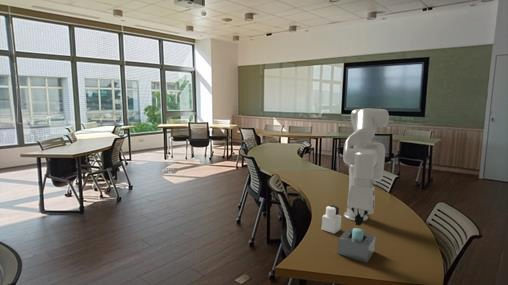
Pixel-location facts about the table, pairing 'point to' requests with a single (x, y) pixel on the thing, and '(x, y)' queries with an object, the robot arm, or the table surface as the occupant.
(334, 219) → the medicine bottle
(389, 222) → the table surface
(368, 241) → the socket
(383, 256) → the table surface
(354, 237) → the plug
